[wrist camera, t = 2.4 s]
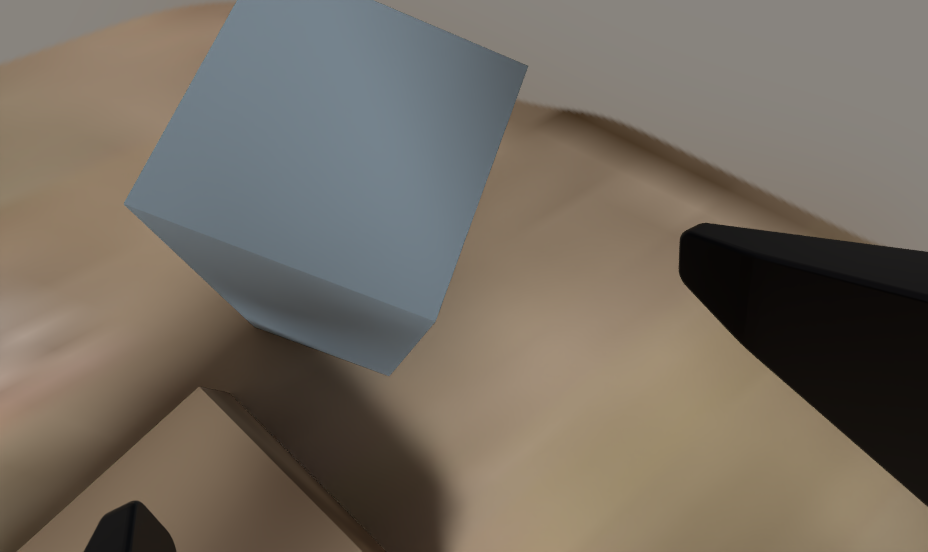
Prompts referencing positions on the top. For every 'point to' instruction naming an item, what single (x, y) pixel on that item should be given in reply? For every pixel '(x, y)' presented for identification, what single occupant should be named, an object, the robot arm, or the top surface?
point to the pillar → (330, 170)
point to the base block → (212, 489)
